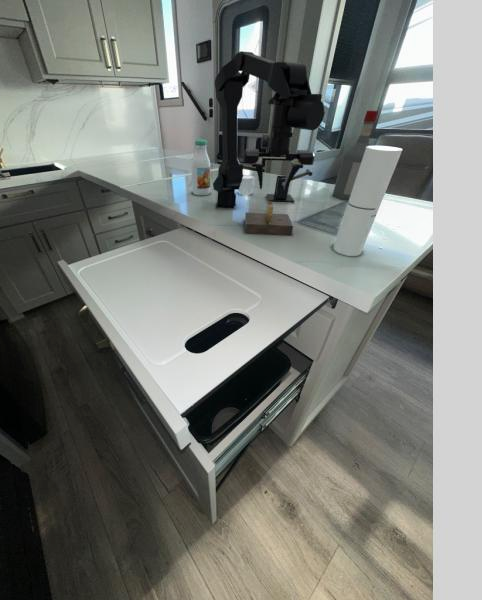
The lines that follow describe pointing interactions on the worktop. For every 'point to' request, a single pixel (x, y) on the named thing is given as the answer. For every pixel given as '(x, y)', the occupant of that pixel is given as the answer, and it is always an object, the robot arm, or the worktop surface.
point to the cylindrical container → (366, 198)
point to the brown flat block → (268, 224)
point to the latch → (302, 174)
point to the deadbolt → (269, 211)
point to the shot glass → (246, 185)
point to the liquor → (353, 160)
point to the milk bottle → (201, 169)
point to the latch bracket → (280, 192)
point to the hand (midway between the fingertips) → (272, 189)
